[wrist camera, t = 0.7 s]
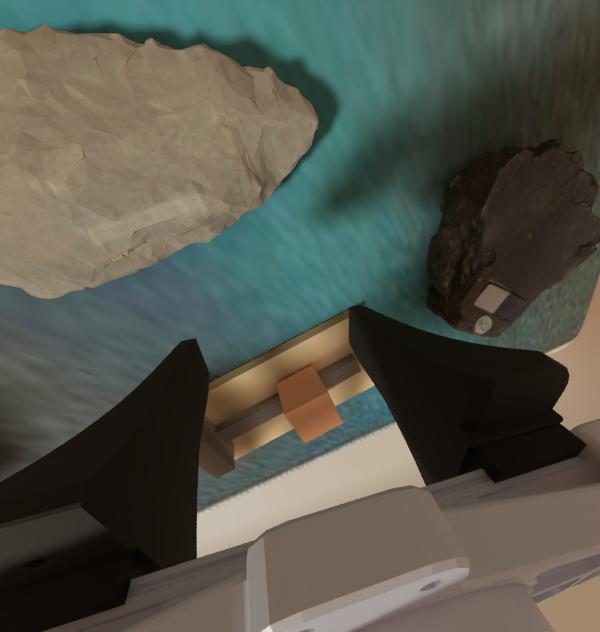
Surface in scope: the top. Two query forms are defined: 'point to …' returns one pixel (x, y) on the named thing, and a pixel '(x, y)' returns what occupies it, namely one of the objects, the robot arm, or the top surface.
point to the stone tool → (130, 152)
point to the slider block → (308, 404)
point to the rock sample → (510, 235)
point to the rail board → (274, 392)
